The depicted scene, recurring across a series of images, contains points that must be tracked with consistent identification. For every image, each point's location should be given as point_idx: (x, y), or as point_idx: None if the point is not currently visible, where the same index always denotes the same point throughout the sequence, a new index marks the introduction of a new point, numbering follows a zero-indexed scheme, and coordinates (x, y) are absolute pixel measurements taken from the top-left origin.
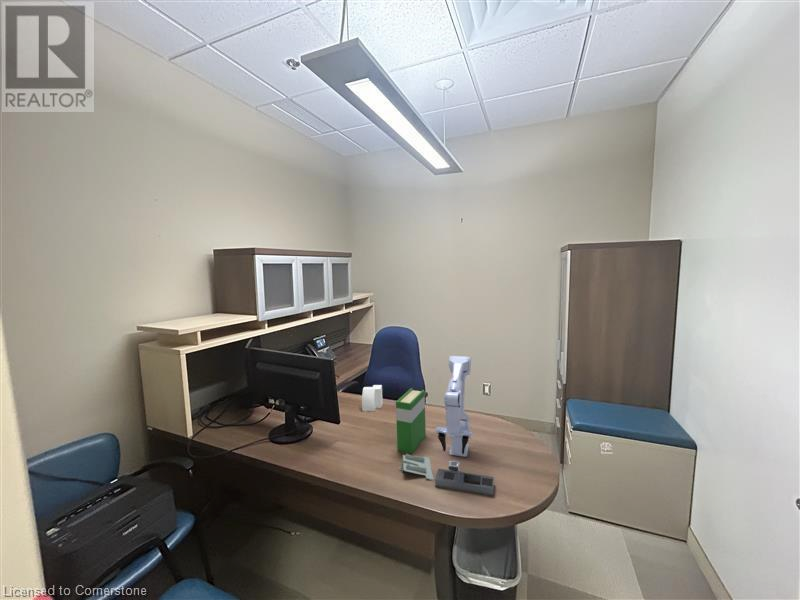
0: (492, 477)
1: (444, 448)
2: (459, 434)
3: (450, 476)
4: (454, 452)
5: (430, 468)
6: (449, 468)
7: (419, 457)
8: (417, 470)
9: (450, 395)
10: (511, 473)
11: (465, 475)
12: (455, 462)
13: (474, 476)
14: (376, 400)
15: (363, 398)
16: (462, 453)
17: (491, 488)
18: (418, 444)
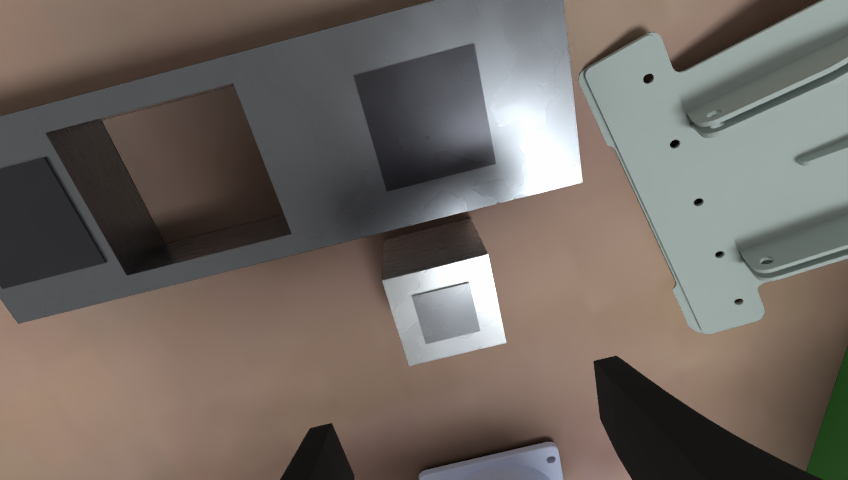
0: (23, 312)
1: (626, 389)
2: None
3: (406, 112)
4: (519, 471)
5: (654, 212)
6: (472, 245)
7: (824, 251)
8: (794, 63)
9: None
10: (36, 457)
11: (287, 230)
12: (439, 334)
13: (196, 254)
14: None
15: None
16: (323, 429)
17: None
18: (823, 436)
